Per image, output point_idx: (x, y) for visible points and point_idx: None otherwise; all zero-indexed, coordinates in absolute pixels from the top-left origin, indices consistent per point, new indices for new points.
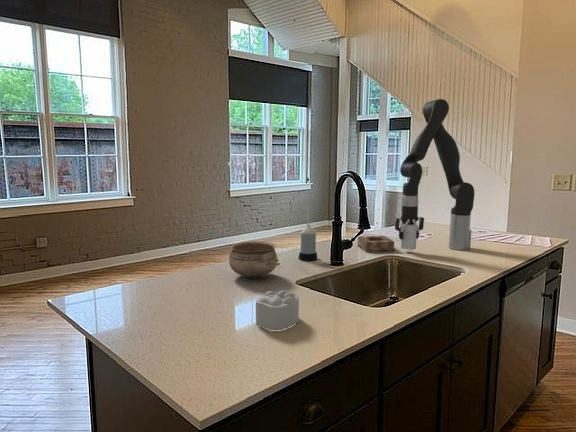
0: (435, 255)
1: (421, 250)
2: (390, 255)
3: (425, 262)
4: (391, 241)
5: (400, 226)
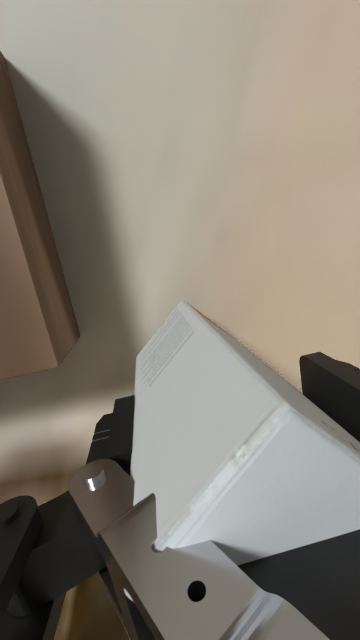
0: None
1: (310, 272)
2: (39, 454)
3: None
4: (24, 364)
5: (96, 543)
